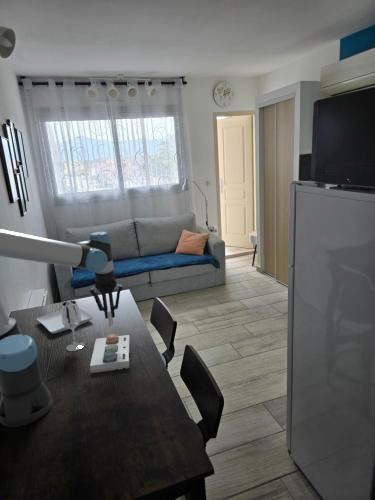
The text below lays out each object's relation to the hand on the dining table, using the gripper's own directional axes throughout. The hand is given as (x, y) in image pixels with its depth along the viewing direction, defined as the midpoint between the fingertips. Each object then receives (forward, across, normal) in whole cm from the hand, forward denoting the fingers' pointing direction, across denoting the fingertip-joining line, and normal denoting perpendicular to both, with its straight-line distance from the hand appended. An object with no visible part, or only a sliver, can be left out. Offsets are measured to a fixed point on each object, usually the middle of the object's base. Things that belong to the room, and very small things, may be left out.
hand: (111, 324), depth 135 cm
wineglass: (+10, +16, -4) cm, 20 cm away
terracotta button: (+8, 0, 0) cm, 8 cm away
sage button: (+9, 0, +7) cm, 11 cm away
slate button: (+8, 0, +13) cm, 16 cm away
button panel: (+10, 0, +7) cm, 12 cm away
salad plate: (+11, +25, -29) cm, 40 cm away
